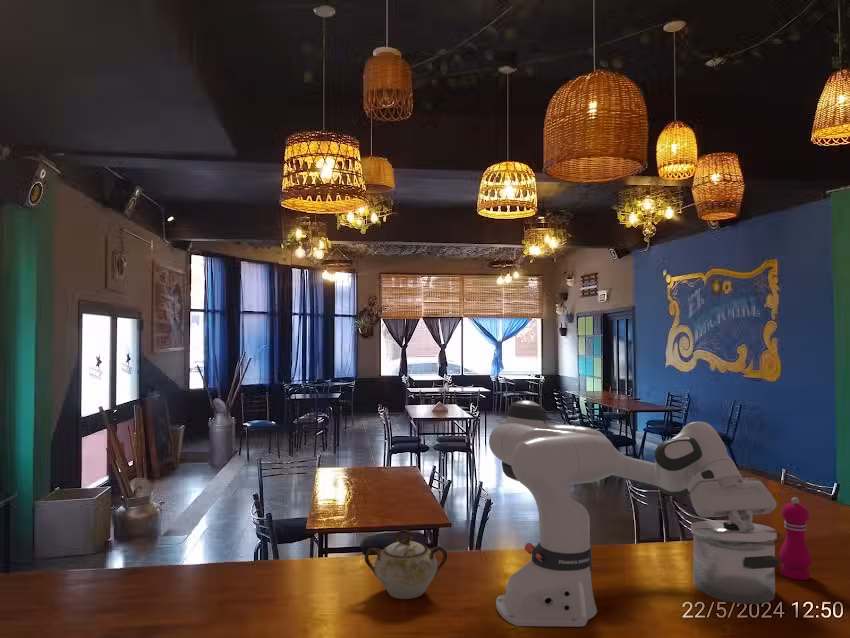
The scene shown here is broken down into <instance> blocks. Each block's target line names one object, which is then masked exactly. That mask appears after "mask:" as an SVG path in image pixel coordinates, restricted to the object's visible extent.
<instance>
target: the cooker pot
mask: <svg viewBox="0 0 850 638" xmlns="http://www.w3.org/2000/svg"><path fill="white" fill-rule="evenodd" d="M692 536H693V537H692V539H693V540H692V543H693V544H692V546H693V548H692V550H693V551H692V552H693V553H692V557H693V558H692V560H693V561H692V562H693V565H692V566H693V567H692V574H693V575H692V579H693V580H692V583H693V586H694V585H695V586H694V587H695V588H696V589H697V590H698V591H699V590H700V591H699V592H701V591H702V592H703V594H704V593H705V594H704V595H706V594H707V595H706V596H708V595H709V596H708V597H710V598H711V597H712V598H715V599H717V600H721V601H725V602H728V603H735V604H741V603H742V604H743V605H760V603H761V604H766V603H770V602H772V601H773V600H774V599H775V597H776V568H779V567H780V558H777V557H776V544H775V541H772V542H768V543H759V544H740V543H727V542H719V541H713V540H708V539H704V538H700V537H697V536H695V535H693V534H692ZM702 592H701V593H702Z"/></svg>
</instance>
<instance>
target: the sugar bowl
mask: <svg viewBox="0 0 850 638" xmlns="http://www.w3.org/2000/svg"><path fill="white" fill-rule="evenodd" d="M402 534H405V535H407V537H408V538H406V539H402V538H401V535H402ZM396 538H397V541H396V542H393V543H390V544H389V545H386V546H385V547H384V548H383V549H380V548H378V547H370V548H368V549H367V550H366V552H365V553H364V560H365V561H364V562H365V563H366V565H367V566H368V568H370V569H371V571H372V573H373V574H374V576H375V577H376V578H377V579H378V580H379V582H380V584H381V585H382V586H383V587H384V589H385V590H386V591H387V593H388V594H389V596H391V597H392V598H394V599H400V600H410V599H417V598H419V597H421V596H422V595H424V593H425V591H426V590H427V588H428V587H429V585H430V584H431V582H432V580H433V579H434V578H436V576H437V575H438V573H439V572H440V570H441V569H442V567H443V566H444V564H445V563H446V561H447V558H448V553H447V551H446V549H445V548H444V547H442V546H435V547H432V548H428V546H427V545H425V544H423V543H421V542H418V541H412V539H413V534H412V533H411V532H410V531H409V530H407V529H400V530H399V531H398V533H397V534H396ZM436 552H441V553H442V556H443V557H442V560H441V562H440V563H439V564H438V561H437V559H436V556H435V553H436ZM371 554H375V555H376V556H377V557H376V558H375V561H374V565H373V563H371V561H370V559H369V555H371Z"/></svg>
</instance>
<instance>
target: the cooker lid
mask: <svg viewBox="0 0 850 638" xmlns="http://www.w3.org/2000/svg"><path fill="white" fill-rule="evenodd" d="M752 523H753V525H754V526H755V529H754V530H753V531H747V532H741V531H740V529H739V527H738V526H737V525H736V524H735V523H733V522H732V521H730V520H724V519H723V520H721V519H720V520H719V519H718V520H716V519H715V520H714V519H713V520H712V519H711V520H701V521H697V522H693V523H691V524H690V533H691V534H692V536H693V535H695V536H697V537H700V538H704V539H708V540H713V541H719V542H727V543H740V544H759V543H768V542H772V541H773V542H775V541H776V540H777V539H778V533H777V532H778V531H777V530H776V528H773V527H770V526H768V525H763V524H759V523H755V522H752Z"/></svg>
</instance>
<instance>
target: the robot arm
mask: <svg viewBox="0 0 850 638" xmlns="http://www.w3.org/2000/svg"><path fill="white" fill-rule="evenodd" d="M506 417H507V419H506V423H502V424H499V425H497V426H496V427H495V428H493V430H492V431H491V433H490V435H489V439H488V445H489V450H490V451H491V452H492V454H493V456H495V457H496V458H497V459H498V460H499V461H501V468H502V472H503V473H504V475H505V476H506V477H507V478H508V479H509V478H510V479H512V480H513V481H516V482H519V483H520V484H522V485H523V486H524V487H525V488H527V490H528V491H529V492H530V493H531V495H532V496H533V498H534V501H535V503H536V504H535V505H536V506H537V511H538V519H539V520H538V521H539V542H538V543H537V545H536V546H534V545H533V544H532V543H531V542H526V544H525V545H524V550H525V551H526V552H527V553H528V554H529V555H531V560H529V561H528V562H527V563H526V564H525V565H524V566H522V567H521V568H519V569H518V570H517V571H515V572H514V573H513V574H511V575H510V577H509V578H508V579H507V583H506V589H505V594H503V595H502V594H501V595H498V596H497V597H496V599H495V608H496V611H497V612H498V614H499V615H500V616H501V618H502V619H504V620H505V621H506V622H508V623H510V624H511V625H514V626H516V627H571V628H572V627H576V628H577V627H585V626H587V623H588V621H589V620H590V619H592V618H594V617H595V616H596V615H597V613H598V609H597V605H596V602H595V598H594V597H595V596H594V592H593V586H592V577H591V571H592V568H593V567H592V564H593V562H592V561H593V555H592V551H593V550H592V546H591V543H590V532H591V531H590V524H591V522H590V514H589V512H588V510H587V508H586V507H585V506H584V505H583V504H581V503H580V502H578V501H576V500H575V499H573V498H572V496H571V490H570V486H571V485H577V484H578V485H579V484H588V483H595V482H598V481H601V480H604V479H605V478H608V477H610V476H611V477H613V478H619V479H622V480H626V481H629V482H634V483H638V484H642V485H646V486H649V487H652V488H655V489H657V490H659V491H660V492H662V493H664V494H665V495H667V496H670V497H675V498H680V497H685V496H688V495H690V496H689V497H690V502H691V504H692V507H693V509H694V511H695V513H696V515H698V516H699V517H700V518H716V517H728V520H729V521H730V520H731V521H732V522H733V523H735V524H736V525H737V526H738V527H739V529H740V531H741V532H747V531H753V530H754V529H755V526H754V525H753V523H754V522H753V518H754V517H753V516H754V515H767V514H771V513H772V512H773V511H774V510H775V509H776V508H777V505H778V504H777V501H776V499H775V498H774V496H773V495H772V493H771V492H770V491H769V489H768V488H767V487H766V486H765V485H764V483H763V482H762V481H761V480H759V479H757V478H755V477H743V476H742V474H741V473H740V470H738V469H739V468H738V467H737V466H736V464H735V462H734V460H733V459H732V458H731V457H730V455H729V454H728V449H727V447H726V444H725V443H724V441H723V440H722V438H721V436H720V434H719V433H718V432H717V431H716V430H715V428H714V427H713V426H712V425H711V424H709V423H707V422H705V421H693V422H689V423H688V424H686V425H684V426H682V429H681V430H680V432H679V433H678V434H676V435H675V436H673V437H672V438H670V439H667V440H664V441H662V442H660V443H659V444H658V445H657V447H656V448H655V451H654V462H651V461H647V460H643V459H639V458H633V457H630V456H627V455H625V454H623V453H622V452H620V451H619V450H618V449H617V448H616V447H615V446H614V445H613V443H612V442H611V440H610V439H608V438H607V436H606V435H605V434H604V433H602V432H601V431H599V430H596V429H595V428H591V427H586V426H580V425H572V424H547V422H546V421H552V418H551V417H549V415H548V413H547V410H546V409H545V408H544V407H543V406H542V405H540V404H538V403H536V402H535V401H533V400H525V399H524V400H519V401H516V402H515V401H514V402H512V403H511V404H510V405H509V408H508V410H507V414H506ZM738 515H742V517H743V518H744V519H745V518H746V522H743V521H742V520H741V519H740V518H739V517H738Z"/></svg>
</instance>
